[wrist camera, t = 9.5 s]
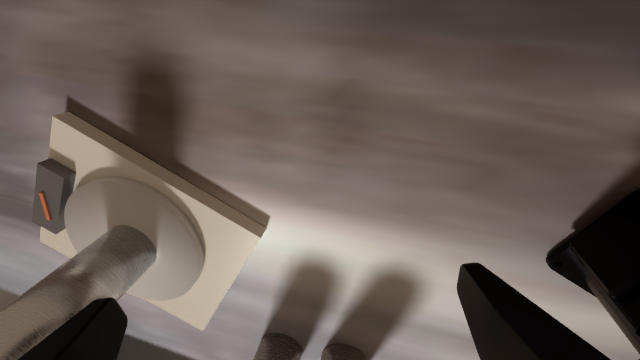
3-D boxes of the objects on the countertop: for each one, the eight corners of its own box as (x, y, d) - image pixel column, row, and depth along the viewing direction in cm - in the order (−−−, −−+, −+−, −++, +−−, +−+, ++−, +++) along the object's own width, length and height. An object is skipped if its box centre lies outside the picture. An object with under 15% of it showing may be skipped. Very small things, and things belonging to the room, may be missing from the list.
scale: (266, 228, 23) (254, 248, 21) (209, 320, 29) (195, 342, 27) (68, 111, 22) (35, 120, 20) (52, 232, 28) (26, 249, 26)
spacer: (152, 231, 23) (-23, 386, 13) (159, 272, 25) (10, 435, 15) (103, 219, 23) (-102, 361, 13) (113, 261, 25) (-61, 411, 15)
